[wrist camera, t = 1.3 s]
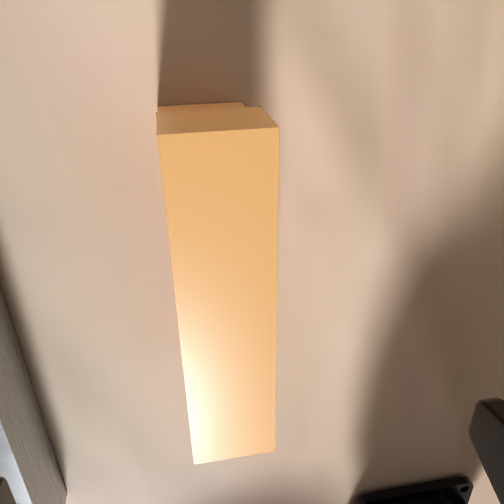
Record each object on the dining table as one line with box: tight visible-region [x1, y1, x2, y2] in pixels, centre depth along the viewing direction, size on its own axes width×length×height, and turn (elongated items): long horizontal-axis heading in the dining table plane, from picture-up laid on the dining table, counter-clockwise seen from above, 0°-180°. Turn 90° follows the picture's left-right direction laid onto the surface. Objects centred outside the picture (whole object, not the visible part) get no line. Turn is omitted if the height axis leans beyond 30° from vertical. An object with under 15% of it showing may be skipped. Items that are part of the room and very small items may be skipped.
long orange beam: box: [156, 102, 279, 465], centre depth 14 cm, size 2×10×5 cm, turn 1°
